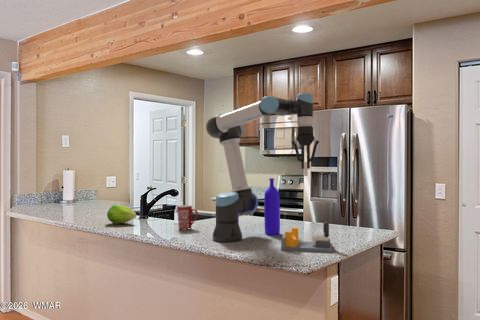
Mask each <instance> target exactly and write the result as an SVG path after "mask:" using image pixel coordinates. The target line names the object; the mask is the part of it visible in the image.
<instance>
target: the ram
mask: <svg viewBox="0 0 480 320" xmlns="http://www.w3.org/2000/svg"><path fill="white" fill-rule="evenodd" d="M322 224H323V234H312V235H311V236H312V238H311V239H312V240H311V242H312V246H316V241H325V242H329V239H330V238H329V237H330V222H328V221H325V222H322Z"/></svg>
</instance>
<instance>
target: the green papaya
mask: <svg viewBox="0 0 480 320" xmlns="http://www.w3.org/2000/svg"><path fill="white" fill-rule="evenodd" d="M106 217H107V219H108V220H109V222H111V223H113V224H114V225H118V224H119V225H120V223H121V224H125V223H128V222H130V221H132V220H134V219H136V218H137V213H136V212H135V211H134V210H133V209H131V208H130V207H128V206H125V205H119V204H118V205H117V204H113V205H112V206H111V207H109V208H108V209H107V213H106Z"/></svg>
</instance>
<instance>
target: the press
mask: <svg viewBox="0 0 480 320" xmlns="http://www.w3.org/2000/svg"><path fill="white" fill-rule="evenodd" d="M280 241H281V246H280V251H285V252H286V251H291V252H311V253H329V254H330V253H333V242H331V239H330V238H329V242H325V241H316V246H312V241H300V240H299V244H298V245H297V246H296V247H286V246H285V233H283V235H282V236H281V240H280Z"/></svg>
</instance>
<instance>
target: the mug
mask: <svg viewBox="0 0 480 320" xmlns="http://www.w3.org/2000/svg"><path fill="white" fill-rule="evenodd" d="M176 209H177V222H178V223H177V224H178V230H180V229H188V228H191V229H192V226H193V225H194V223H195V221H196V220H197V218H198V216H199V215H198V210H197V208H193V205H190V204H185V205H177V206H176ZM193 212H195V217H194V219H193V218H192V217H193V216H192V214H193ZM192 219H193V220H192Z"/></svg>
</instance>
